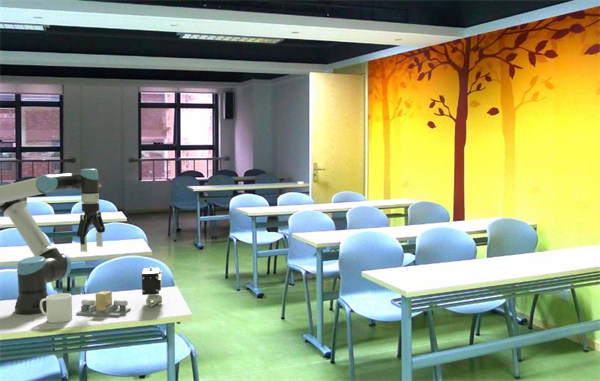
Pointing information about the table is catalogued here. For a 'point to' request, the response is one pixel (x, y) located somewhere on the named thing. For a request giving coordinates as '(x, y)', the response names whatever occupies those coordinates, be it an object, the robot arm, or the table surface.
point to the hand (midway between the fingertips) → (91, 249)
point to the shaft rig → (111, 311)
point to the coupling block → (103, 300)
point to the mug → (58, 308)
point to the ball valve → (152, 285)
